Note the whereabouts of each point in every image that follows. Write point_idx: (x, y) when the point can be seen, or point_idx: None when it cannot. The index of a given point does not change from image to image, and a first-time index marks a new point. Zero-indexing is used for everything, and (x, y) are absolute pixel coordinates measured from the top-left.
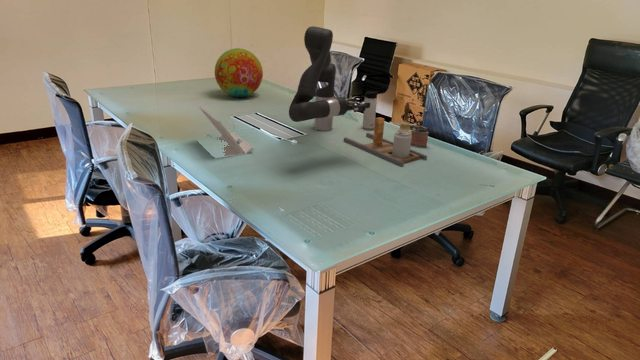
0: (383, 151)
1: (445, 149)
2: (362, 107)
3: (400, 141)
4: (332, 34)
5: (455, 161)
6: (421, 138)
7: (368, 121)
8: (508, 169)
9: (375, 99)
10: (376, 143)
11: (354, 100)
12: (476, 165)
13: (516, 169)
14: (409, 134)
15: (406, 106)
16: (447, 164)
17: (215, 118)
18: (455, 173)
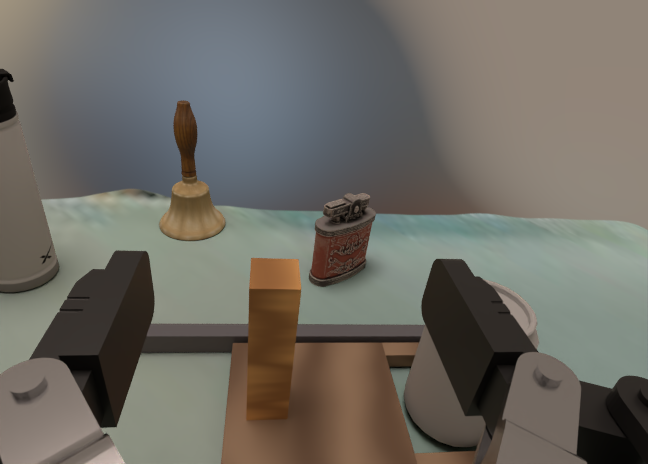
0: (386, 452)
1: (400, 237)
2: (606, 460)
3: None
4: None
5: (515, 280)
6: (358, 242)
7: (24, 249)
8: (585, 233)
9: (16, 122)
10: (278, 410)
11: (134, 303)
12: (555, 262)
13: (583, 223)
14: (520, 301)
15: (187, 120)
16: (545, 313)
17: None
18: (645, 349)
